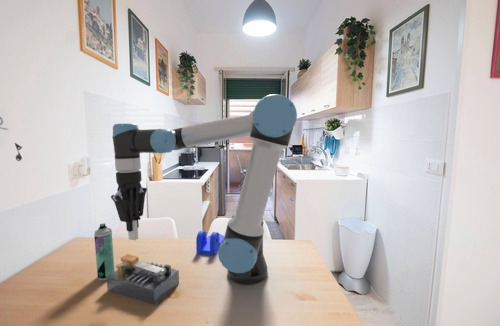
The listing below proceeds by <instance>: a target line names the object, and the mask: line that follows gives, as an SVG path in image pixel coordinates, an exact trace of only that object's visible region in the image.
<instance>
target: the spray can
mask: <svg viewBox="0 0 500 326" xmlns="http://www.w3.org/2000/svg"><path fill="white" fill-rule="evenodd" d="M93 235H94V246H95V247H94V248H95V260H96V261H95V262H96V274H97V280H98V279H99V280H98V281H107V276H109V275H110V274H112V273H114V272H115V271H116V270H115V261H114V259H115V258H114V256H115V255H114V245H113V243H114V242H113V231H112V228H110V227H108V226H106V223H100V224H99V227H98V228H97V229H96V230H95V231H94V234H93Z"/></svg>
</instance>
